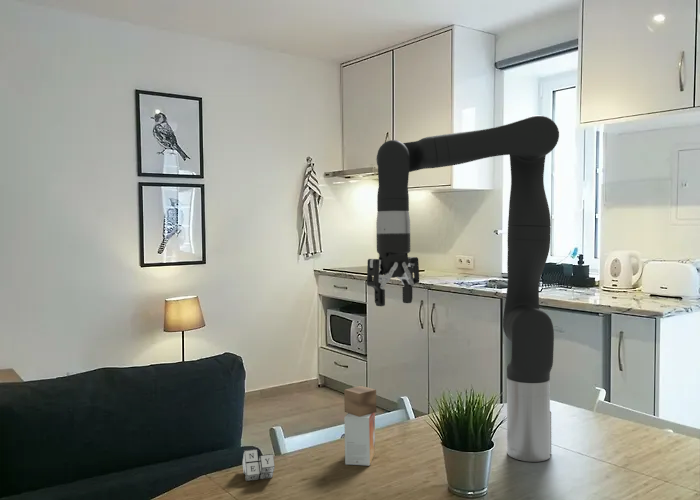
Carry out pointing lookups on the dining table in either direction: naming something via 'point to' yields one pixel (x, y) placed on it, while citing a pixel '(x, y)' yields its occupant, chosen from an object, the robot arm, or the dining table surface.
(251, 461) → the building blocks
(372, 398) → the walnut cube
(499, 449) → the dining table surface
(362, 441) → the small box
